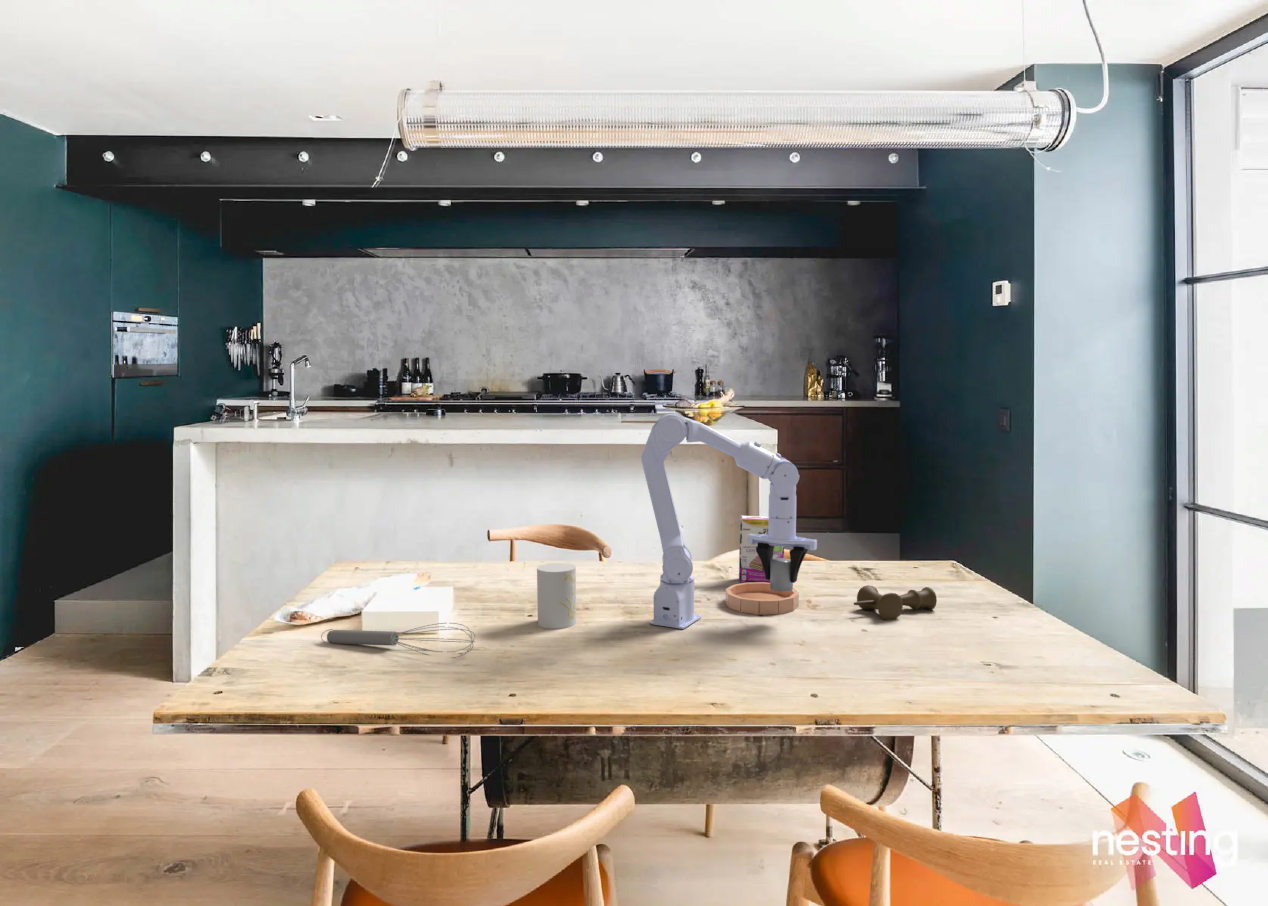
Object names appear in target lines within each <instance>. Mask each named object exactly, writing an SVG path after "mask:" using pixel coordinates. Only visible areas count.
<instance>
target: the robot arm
mask: <svg viewBox="0 0 1268 906" xmlns="http://www.w3.org/2000/svg"><path fill="white" fill-rule="evenodd" d="M650 429H651V430H650V432H649V435H648V438H647V439H646V443H645V445H644V448H643V450H642V453H641V456H640V458H641V463H642V468H643V472H644V475H645V481H646V484H647V488H648V492H649V497H650V501H651V505H652V509H653V510H652V511H653V514H654V518H655V522H656V526H657V529H658V534H659V537H660V543H661V549H662V566H661V567H662V572H663V573H662V574H660V577H659V578H660V579H659V583H660V584H659V587H658V588H657V589H656V590H655V591H654V594H653V619H652V620H649V624H650V625H655V626H662V627H666V628H667V627H668V628H675V629H681V630H684V629H686V628H687V627H689V626H691V625H692V624H693V623H695V622H696V621H698V620H699V619H701V618H702V615H701V614H695V576H694V575H693V574H692V573H693V569H694V566H693V562H692V559H693V558H692V554H691V551H690V550H689V549H688V547H687V546H686V545H685V543H684V540H683V539H684V538H683V535H682V532H681V528H680V523H679V519H678V515H677V511H676V507H675V504H674V503H675V502H674V500H673V499H674V498H673V494H672V491H671V485H670V482H669V478H668V474H667V469H666V465H665V460H666V459H667V457H668V456H669V455H670V453H671V452H672V450H673V449H674V448H676V447H677V446H678V445H680V444H681V443H682V442H683V441H684V440H685V439H686V443H699V442H700V443H703V444H705V445H708V446H710V447H712V448H713V449H716V450H717V451H720V452H722V453H724V454H726V455H729V456H730V457H732V458H734V460H735V465H736V466H737V467H739V468H740V469H743V470H745V471H747V472H749V473H751V474H752V475H755V476H757V477H758V478H759V479H760V478H761V479H762V480H769V482H770V483H769V494H768V516H769V522H768V534H749V535H748V544H758V546H757V547H756V552H757V553H758V555H759V557H760V559H761V562H762V565H763V568H764V571H765V576H766V580H770V560H771V559H773V550H774V546H782V547H784V548H791V549H790V550H789V559H790V560H791V577H790V579H791V583H793V584H794V583H796V582H797V581H798V576H799V572H800V569H801V565H802V563H803V561H804V559H805V557H806V555H807V552H808V550H809V551H816V550H817V549H818V539H813V538H812V539H811V538H808V537H807V538H806V537H802V536H797V534H796V533H797V493H796V492H797V484H798V483H799V481H800V474H799V470H798V468H797V467H796V465H795V464H793V463H792V462H791V461H790V460H787V458H785V457H782V455H781V454H780V453H777V452H776V453H773V452H772V451H769V450H768V449H766V448H763V447H761V446H762V444H761V443H759V442H758V441H754V443H753V442H752V441H746V442H744V443H739V442H737V441H735V440H734V439H732V438H730V437H728V436H727V435H724V434H723V433H721V432H719V431H717V430H715V429H714V428H712V427H709V426H708V425H706V424H704V423H702V422H700V421H697V420H694V419H692V418H690V417H689V418H688V417H684V418H683V417H682V416H681V415H680V414H678V413H675V412H667V413H665V414H663V415H661V416H660V417H659V418H658V420H656V421H655V423H654V424H653V426H652V427H651V428H650Z"/></svg>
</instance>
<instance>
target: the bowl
mask: <svg viewBox="0 0 1268 906" xmlns="http://www.w3.org/2000/svg"><path fill="white" fill-rule="evenodd" d="M799 595H800V594H799V592H798V590H797V589H796V588H794V587H793V590H791V591H774V590H771V589H770V583H766V582H740V583H736V584H732V585H730V586H729V587H727V588H725V600H724V601H725V604H726V606H727V608H729V609H732V610H734V611H738V612H739V613H744V614H745V613H746V614H754V615H781V614H785V613H791V612H794V611H795V610H796V609H798V608H799V605H800V604H799V602H800V601H799V598H800V597H799Z"/></svg>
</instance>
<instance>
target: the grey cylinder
mask: <svg viewBox="0 0 1268 906" xmlns="http://www.w3.org/2000/svg"><path fill="white" fill-rule="evenodd" d="M790 577H791V560H790V558H774V559H771V560H770V589H771V590H774V591H791V590H793V588H794V583H791V579H790Z"/></svg>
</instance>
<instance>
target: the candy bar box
mask: <svg viewBox="0 0 1268 906" xmlns="http://www.w3.org/2000/svg"><path fill="white" fill-rule="evenodd" d="M768 522H769V515H768V516H766V515H740V517H739V547H738V548H739V555H738V556H739V557H738V558H739V559H738V581H739V583H748V582H766V583H770V580H766V576H765V571H764V568H763V565H762V562H761V559H760V557H759V555H758V553H757V552H756V547H757V546H758V544H748V535H749V534H768ZM784 557H785V547H782V546H774V550H773V559H774V558H784Z"/></svg>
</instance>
